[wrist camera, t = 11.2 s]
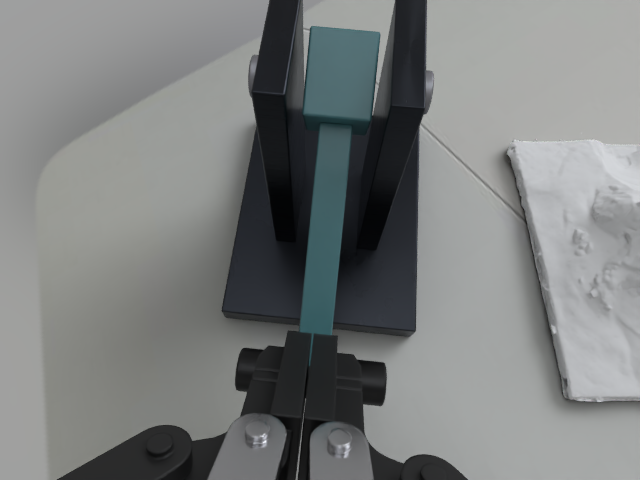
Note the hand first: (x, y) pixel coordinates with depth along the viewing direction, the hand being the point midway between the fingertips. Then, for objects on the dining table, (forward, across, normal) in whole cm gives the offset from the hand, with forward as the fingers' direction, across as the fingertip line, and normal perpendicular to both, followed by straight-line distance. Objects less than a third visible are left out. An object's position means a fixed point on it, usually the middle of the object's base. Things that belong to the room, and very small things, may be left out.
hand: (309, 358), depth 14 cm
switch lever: (+4, 0, -3) cm, 5 cm away
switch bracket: (+12, 0, 0) cm, 12 cm away
